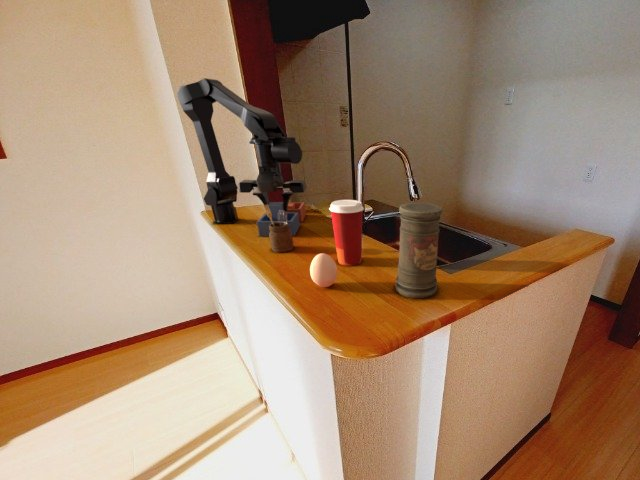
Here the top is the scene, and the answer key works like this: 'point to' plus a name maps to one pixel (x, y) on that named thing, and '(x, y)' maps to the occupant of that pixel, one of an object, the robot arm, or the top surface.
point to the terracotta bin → (298, 210)
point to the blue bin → (265, 222)
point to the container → (418, 249)
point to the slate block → (277, 210)
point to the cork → (294, 197)
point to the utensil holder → (279, 234)
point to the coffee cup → (347, 230)
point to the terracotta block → (291, 206)
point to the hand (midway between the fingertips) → (277, 214)
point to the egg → (323, 270)
